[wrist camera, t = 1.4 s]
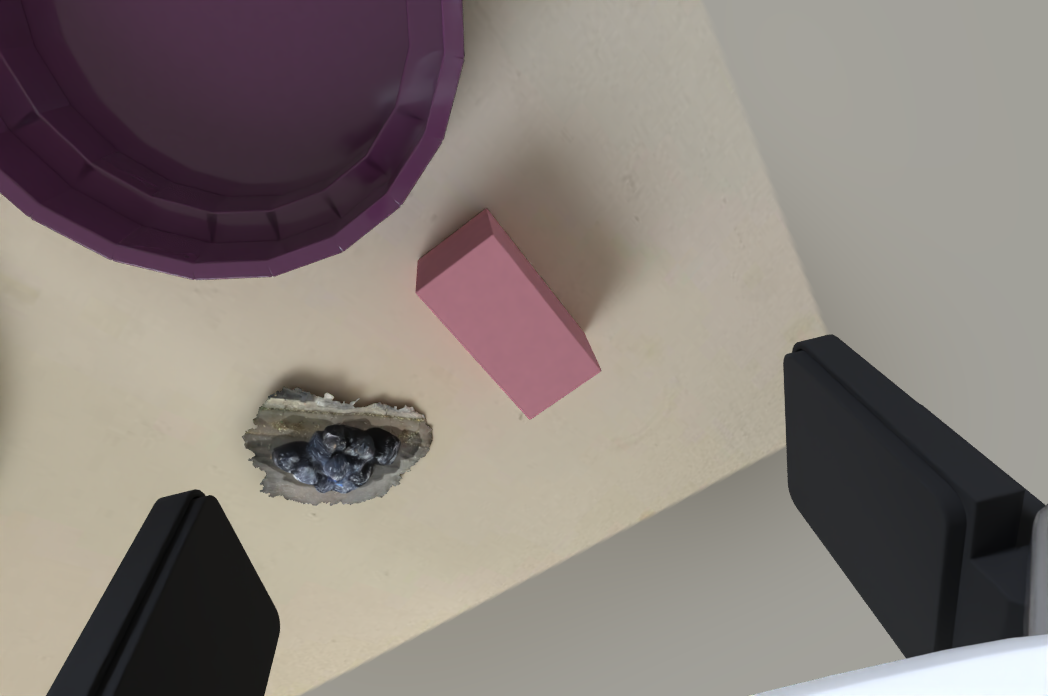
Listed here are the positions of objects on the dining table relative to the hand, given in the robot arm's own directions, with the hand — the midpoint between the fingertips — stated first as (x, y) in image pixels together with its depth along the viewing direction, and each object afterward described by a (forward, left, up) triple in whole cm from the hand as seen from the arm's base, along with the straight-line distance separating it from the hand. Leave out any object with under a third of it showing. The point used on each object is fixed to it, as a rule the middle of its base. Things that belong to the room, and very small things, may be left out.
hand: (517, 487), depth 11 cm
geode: (+11, +5, -18) cm, 21 cm away
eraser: (+1, +4, -18) cm, 18 cm away
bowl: (+2, -10, -17) cm, 20 cm away
